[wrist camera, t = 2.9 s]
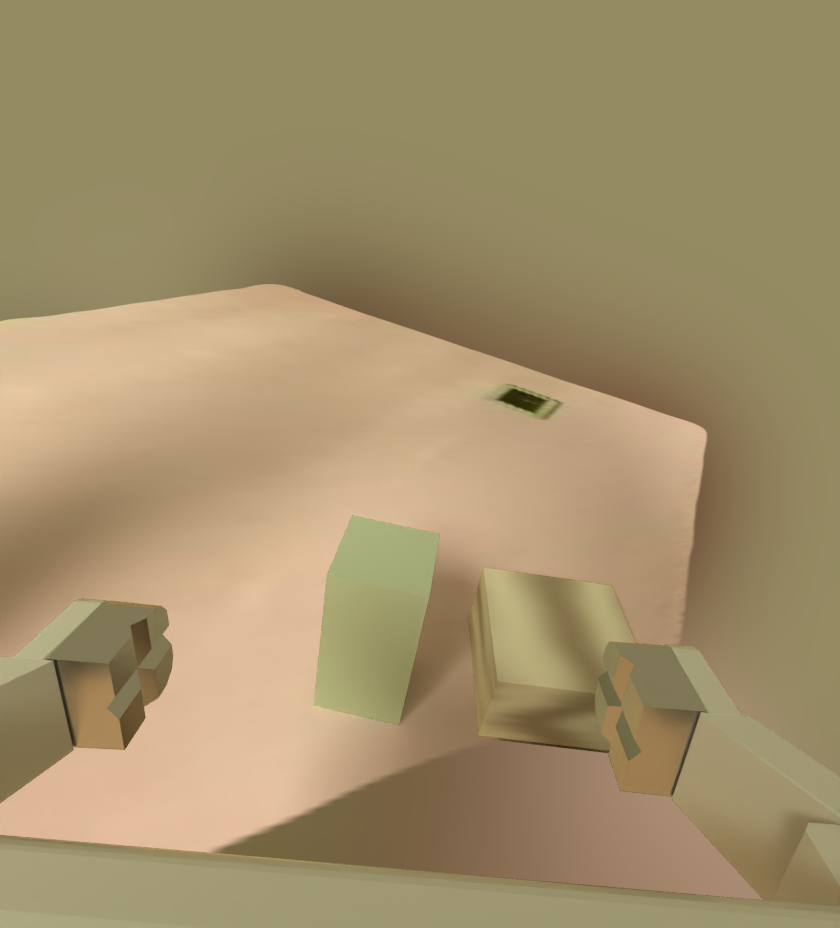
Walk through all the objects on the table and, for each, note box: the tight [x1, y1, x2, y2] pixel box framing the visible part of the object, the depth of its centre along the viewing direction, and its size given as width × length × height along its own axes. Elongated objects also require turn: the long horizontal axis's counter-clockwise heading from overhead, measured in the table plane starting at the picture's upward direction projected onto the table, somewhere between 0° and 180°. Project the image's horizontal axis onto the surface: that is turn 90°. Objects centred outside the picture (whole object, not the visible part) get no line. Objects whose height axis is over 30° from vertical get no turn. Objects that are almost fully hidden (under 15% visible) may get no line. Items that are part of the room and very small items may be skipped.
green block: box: [314, 515, 440, 725], centre depth 30 cm, size 5×5×10 cm
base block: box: [469, 568, 636, 753], centre depth 34 cm, size 9×9×5 cm
